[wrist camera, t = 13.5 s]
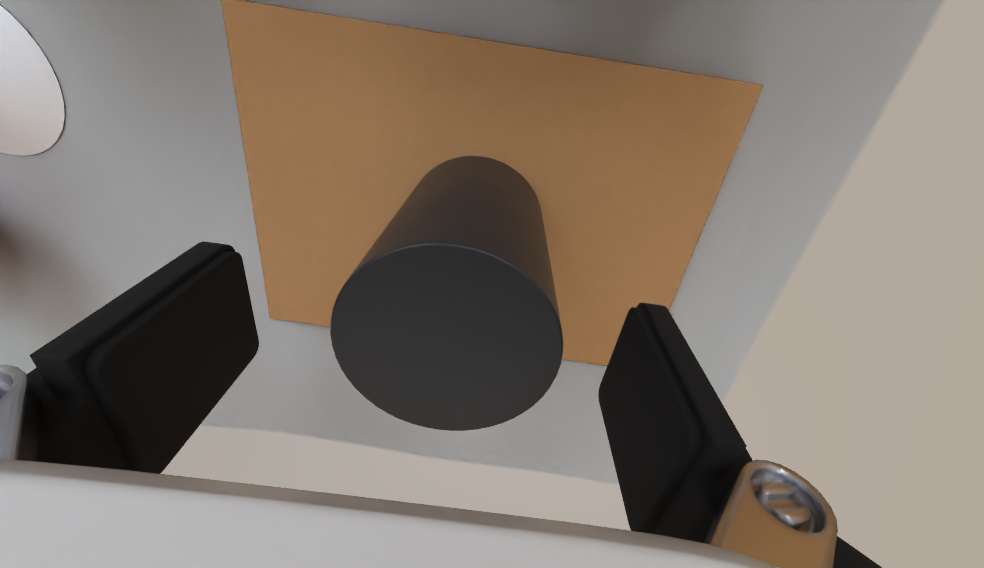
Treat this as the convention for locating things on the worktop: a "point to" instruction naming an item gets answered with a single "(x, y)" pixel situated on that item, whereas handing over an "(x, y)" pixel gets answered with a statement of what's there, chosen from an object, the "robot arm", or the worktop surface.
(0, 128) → the champagne flute
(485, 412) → the dark grey cylinder
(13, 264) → the worktop surface
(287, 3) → the worktop surface
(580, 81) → the mat
